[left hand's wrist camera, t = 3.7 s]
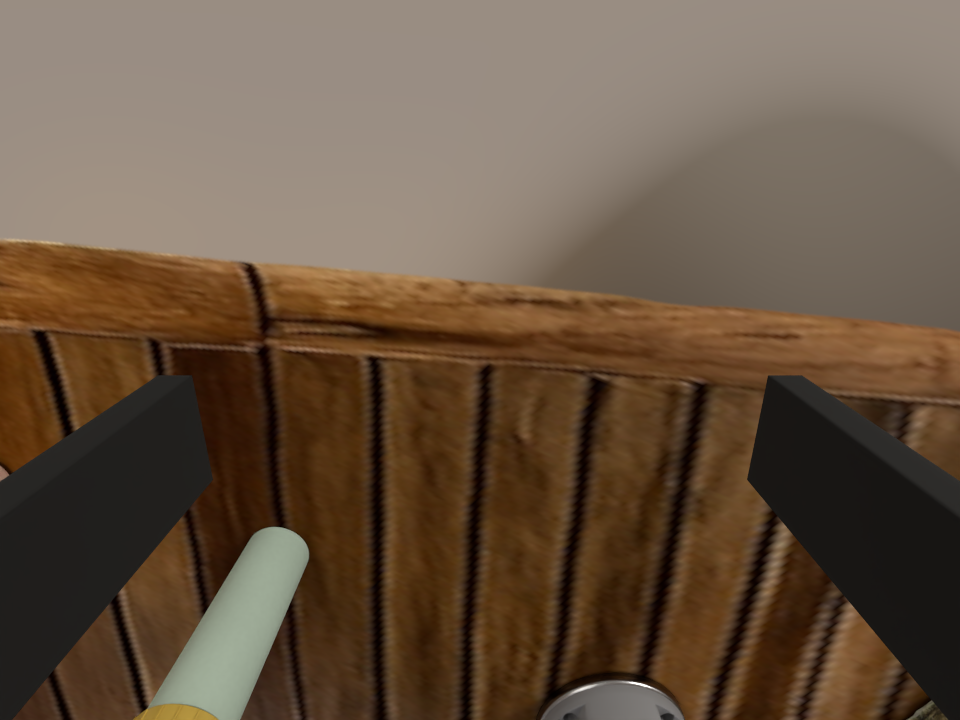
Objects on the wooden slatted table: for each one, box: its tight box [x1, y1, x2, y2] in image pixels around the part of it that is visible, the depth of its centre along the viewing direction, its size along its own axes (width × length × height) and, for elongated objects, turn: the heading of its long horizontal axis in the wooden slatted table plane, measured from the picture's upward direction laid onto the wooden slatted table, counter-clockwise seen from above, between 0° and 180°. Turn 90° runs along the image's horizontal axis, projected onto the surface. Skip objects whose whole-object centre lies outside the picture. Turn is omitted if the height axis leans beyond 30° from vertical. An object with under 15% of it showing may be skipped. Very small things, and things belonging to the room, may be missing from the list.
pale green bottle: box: [147, 527, 309, 720], centre depth 40 cm, size 6×6×18 cm
